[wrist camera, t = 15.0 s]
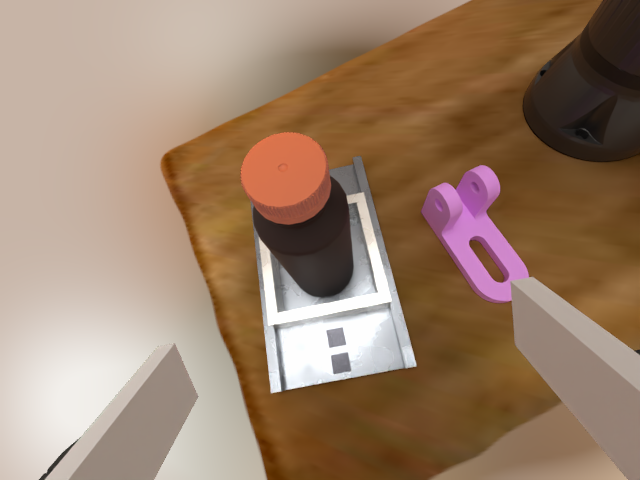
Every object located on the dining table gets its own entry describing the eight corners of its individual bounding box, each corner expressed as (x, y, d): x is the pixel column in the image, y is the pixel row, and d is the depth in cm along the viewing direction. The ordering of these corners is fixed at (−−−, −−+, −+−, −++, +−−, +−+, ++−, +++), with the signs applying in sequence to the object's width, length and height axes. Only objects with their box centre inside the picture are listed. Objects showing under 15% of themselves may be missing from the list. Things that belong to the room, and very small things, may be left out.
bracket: (420, 212, 38) (432, 182, 32) (461, 192, 39) (482, 158, 32) (487, 312, 34) (517, 300, 27) (534, 288, 34) (574, 271, 27)
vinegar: (329, 310, 34) (292, 249, 16) (281, 275, 36) (198, 183, 18) (365, 260, 36) (370, 150, 17) (317, 228, 38) (275, 100, 19)
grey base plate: (360, 167, 41) (360, 145, 37) (412, 366, 32) (420, 366, 28) (254, 190, 42) (242, 171, 38) (277, 391, 33) (265, 395, 29)
